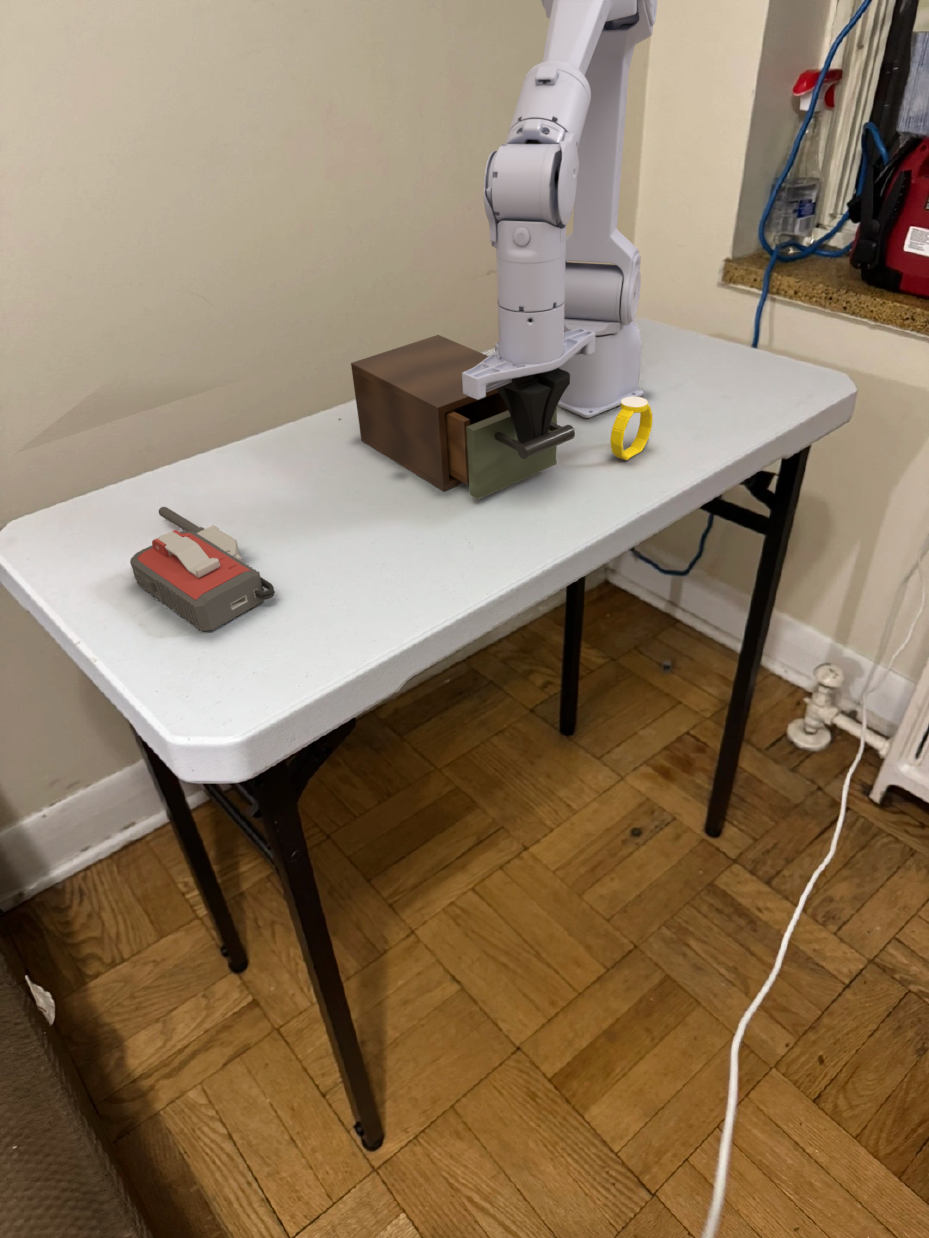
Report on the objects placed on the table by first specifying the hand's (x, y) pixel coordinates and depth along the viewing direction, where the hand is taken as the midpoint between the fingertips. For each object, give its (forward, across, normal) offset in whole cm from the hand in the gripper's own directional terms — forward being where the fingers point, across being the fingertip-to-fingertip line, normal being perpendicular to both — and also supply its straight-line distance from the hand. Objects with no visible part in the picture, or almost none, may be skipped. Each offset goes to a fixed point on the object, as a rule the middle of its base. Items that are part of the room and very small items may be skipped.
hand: (531, 446), depth 82 cm
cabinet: (+6, -1, -15) cm, 16 cm away
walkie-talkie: (+6, +31, -12) cm, 34 cm away
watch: (+6, -14, +1) cm, 15 cm away
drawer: (+5, 0, -7) cm, 8 cm away
